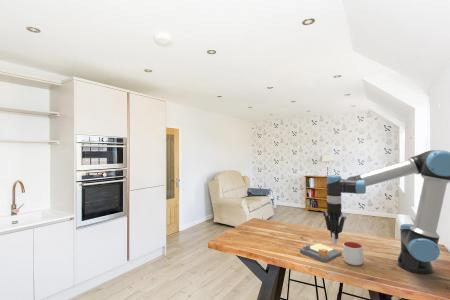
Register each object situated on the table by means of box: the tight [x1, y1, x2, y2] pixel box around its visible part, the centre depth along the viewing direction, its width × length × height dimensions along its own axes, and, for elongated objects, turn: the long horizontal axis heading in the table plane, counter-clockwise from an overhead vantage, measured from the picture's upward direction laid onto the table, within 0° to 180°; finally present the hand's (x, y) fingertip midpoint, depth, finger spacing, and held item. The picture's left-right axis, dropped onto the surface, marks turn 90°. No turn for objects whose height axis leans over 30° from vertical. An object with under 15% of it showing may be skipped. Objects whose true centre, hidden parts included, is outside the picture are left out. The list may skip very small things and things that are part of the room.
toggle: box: [319, 248, 328, 258], centre depth 145 cm, size 4×3×4 cm
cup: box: [342, 241, 364, 266], centre depth 141 cm, size 10×10×10 cm
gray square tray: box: [299, 243, 343, 264], centre depth 153 cm, size 18×17×5 cm
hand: (334, 244), depth 138 cm, fingers closed
